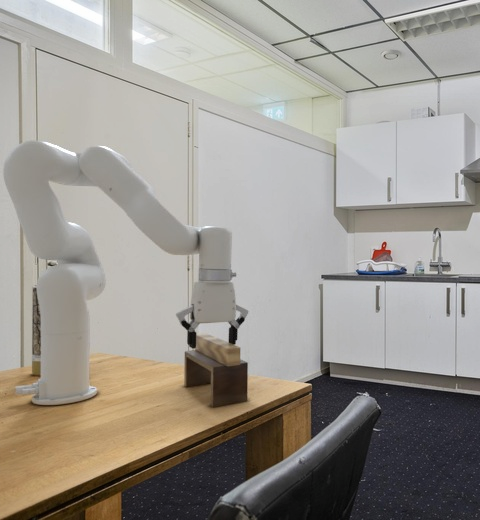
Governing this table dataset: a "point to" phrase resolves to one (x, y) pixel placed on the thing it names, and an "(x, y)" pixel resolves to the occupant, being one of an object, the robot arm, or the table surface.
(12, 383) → the table surface
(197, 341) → the stick
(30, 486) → the table surface
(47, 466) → the table surface
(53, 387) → the robot arm
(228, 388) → the dark brown channel bracket
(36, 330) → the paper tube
